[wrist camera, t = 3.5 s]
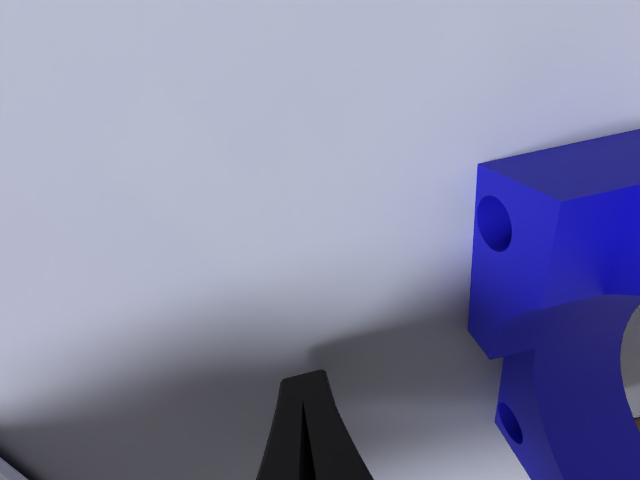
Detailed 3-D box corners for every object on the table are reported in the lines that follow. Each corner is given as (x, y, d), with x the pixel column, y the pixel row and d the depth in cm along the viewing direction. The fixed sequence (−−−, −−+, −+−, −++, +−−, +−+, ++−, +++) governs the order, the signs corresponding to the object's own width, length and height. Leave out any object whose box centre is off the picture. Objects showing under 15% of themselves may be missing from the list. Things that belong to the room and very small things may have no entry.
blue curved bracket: (473, 162, 9) (783, 301, 3) (631, 127, 9) (1162, 212, 4) (459, 426, 14) (568, 631, 9) (556, 402, 15) (718, 592, 9)
